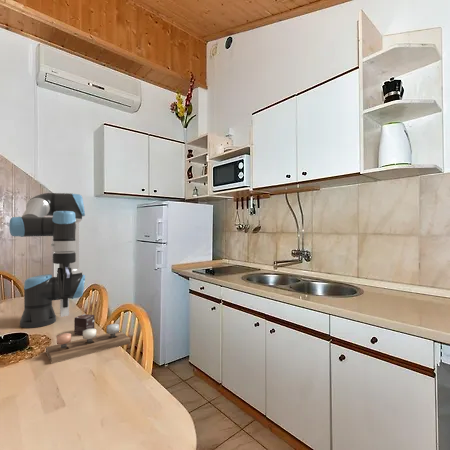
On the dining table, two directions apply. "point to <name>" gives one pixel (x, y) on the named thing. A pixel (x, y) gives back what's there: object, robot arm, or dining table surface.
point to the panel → (86, 346)
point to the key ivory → (89, 334)
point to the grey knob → (112, 329)
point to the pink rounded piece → (63, 339)
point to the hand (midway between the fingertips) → (64, 315)
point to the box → (83, 323)
